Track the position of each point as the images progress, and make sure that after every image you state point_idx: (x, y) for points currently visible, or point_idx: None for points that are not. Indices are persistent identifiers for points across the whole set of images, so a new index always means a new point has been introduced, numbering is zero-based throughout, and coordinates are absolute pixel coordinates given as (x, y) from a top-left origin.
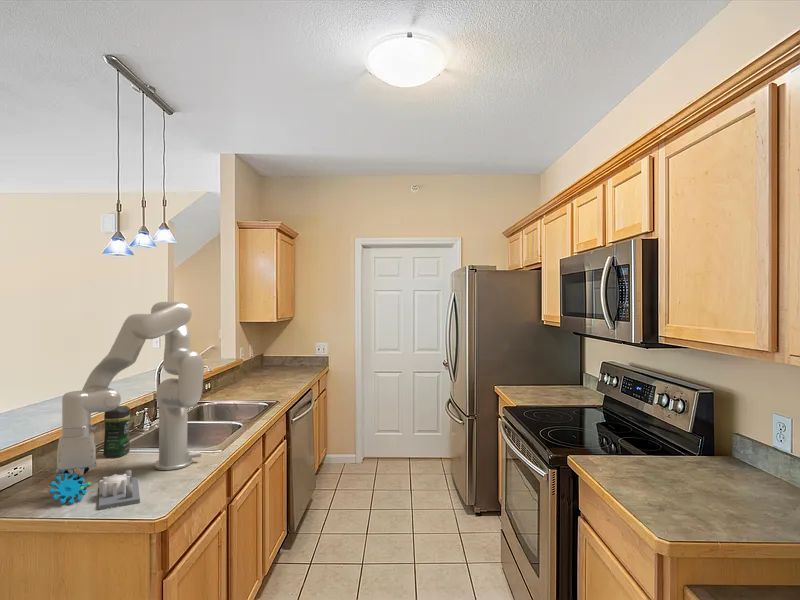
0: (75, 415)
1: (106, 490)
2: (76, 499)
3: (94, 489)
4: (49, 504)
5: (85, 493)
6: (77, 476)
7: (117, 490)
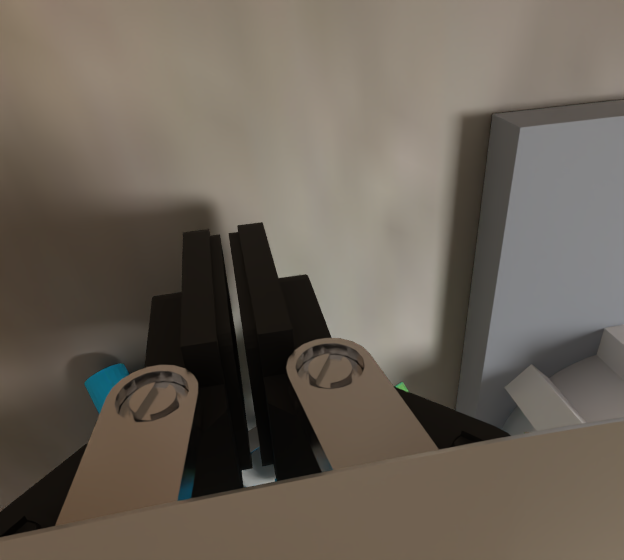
0: None
1: None
2: (275, 480)
3: (418, 178)
4: (23, 468)
5: None
6: (252, 362)
7: None
